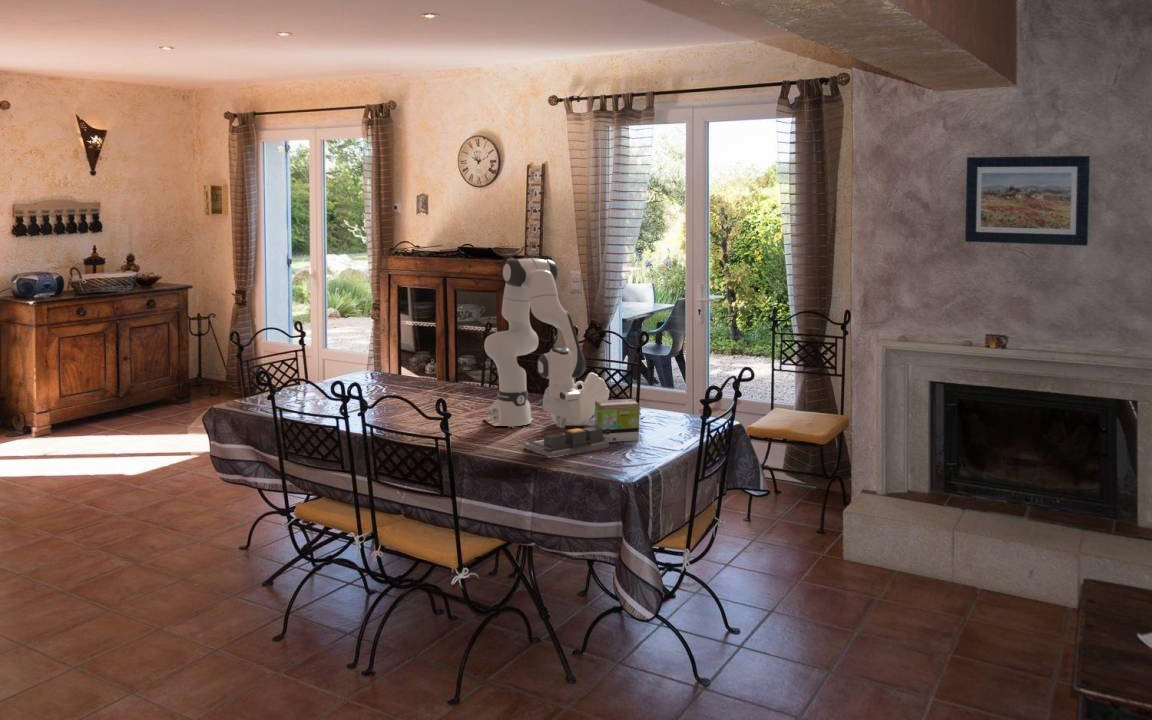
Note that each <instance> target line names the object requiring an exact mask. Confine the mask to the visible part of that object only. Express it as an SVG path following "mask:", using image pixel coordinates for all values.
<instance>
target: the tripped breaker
mask: <svg viewBox="0 0 1152 720" xmlns="http://www.w3.org/2000/svg"><path fill="white" fill-rule="evenodd" d="M582 429H583V428H578V427H577V428H572V429H571V428H570V429H567V430H565V431H564V434H565V436H566V443H569V444H571V446H570V447H569V446H568V448H571V449H578V448H583V447H588V446H592V445H590V444H587V443H586V431H584V430H582Z"/></svg>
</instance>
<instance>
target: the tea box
mask: <svg viewBox="0 0 1152 720" xmlns="http://www.w3.org/2000/svg"><path fill="white" fill-rule="evenodd" d="M594 426H595V427H599V428H602V429H603V437H605V440H604V441H607V442H609V443H616V442H617V443H618V442H638V441H639V439H640V403H638V402H637V401H636V400H634V399H632V398H627V399H626V398H625V399H611V400H609V399H608V400H604V401H595V413H594Z"/></svg>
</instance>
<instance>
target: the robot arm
mask: <svg viewBox="0 0 1152 720" xmlns="http://www.w3.org/2000/svg"><path fill="white" fill-rule="evenodd" d="M502 277H503V280H504V282H505V284H504V285H505V286H504V289H503V296H502V303H501V315H502V317H503V319H505V321H507V322H508V329H507V330H502V331H496V332H494V333H492V334H490V335H488V336H486V338H485V340H484V345H483V347H484V351H485V353H486V355H487V356H488V357H489V358H490V359H491V360H493V362H494V364H495V366H496V369H497V372H498V389H499V390H497V391H496V394H497V396H496V397H497V398H496V400H495V401H494V402H493V403H492V404H491V405H489V407H488V410H487V411H488V412H487V413H488V417H489V418H490V419H492V420H493V421H495V422H497V423H499V425H510V426H511V425H512V426H521V425H527V424H530V423H531V424H532V422H531V421H532V420H534V418H533V417H532V409H531V404H530V401H529V400H528V399H529V398H528V396H529V392H528V389H527V372H526V370H525V368H523V367H522V366H520V365H519V363H518V359H517V357H520V356H526V355H529V354H531V353H533V352H535V351H536V350H537V349H538V347H539V341H540V339H539V336H538V334H537V332H536V331H535V330H534V329H533V327H532V325H531V321H530V312H531V314H532V315H533V317H535V318H536V319H537V320H539V321H541V322H543V323H545V324H547V325H551V326H554V327H556V328H558V329H559V330H560V331H561V333H562V335H563V339H564V344H565V345H566V346H553V347H552V348H551V349H550V350H549V352H546V353H542V354H541V355H540V356H539V358H537V361H536V362H537V365H536V366H537V374H539V375H540V376H541V377H542V378H544V379H550V381H549V382H548V387H546V388H545V390H544V394H543V396H542V397H543V399H542V409H543V411H544V412H547V413H549V414H550V413H551V414H554V415H555V419H556V422H557V423H556V427H558V428H561V429H565V427H566V425H565V422H566V420H567V419H569V420H578V419H579V417H580V401H579V399H580V398H581V394H580V393H579V392H578V391H577V390H576V389H575V388H574V387H573V381H572V378H573V379H576V378H578V379H579V377H581V376H582V375H583V374H584V372H585V371H586V370H587V369H586V368H587V362H586V357H585V356H584V354H583V351H582V349H581V346H580V343H579V340H578V337H577V333H576V330H575V329H576V328H575V326H574V323H573V320H572V317H571V315H570V313H569V311H567V310H566V309H564V307H563V306H562V304H561V302H560V299H559V294H558V287H557V284H556V280H557V278H558V267H557V265H556V262H555V261H553V260H552V259H549V258H543V259H542V258H537V257H536V258H535V257H528V258H512V259H509V260H507V261H505V263H504V265H503V267H502ZM531 424H530V425H531Z"/></svg>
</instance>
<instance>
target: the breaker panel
mask: <svg viewBox="0 0 1152 720" xmlns="http://www.w3.org/2000/svg"><path fill="white" fill-rule="evenodd" d="M581 429H582V430H584V431H586V443H587V444H590V445H592V446H588V447H583V448H578V449H571V448H568V446H569V447H570V446H571V444H569V443H566V436H565V433H558V432H556V433H552V434H546V435H544V436H543V437H542V439H541V440H535V441H533V440H530V439H527V440H526V443H523V448H524V447H526V448H529V449H532V450H534V451H537V452H540V453H543V454H545V455H548V456H550V457H552V456H559V455H566V454H573V453H578V454H580V453H579V452H583V453H586V452H585V451H588V452H592V451H591V450H593V451H597V450H596V449H598V450H602V449H607V448H609V447H610V442H607V441H604V440H605V437H603V429H602V428H599V427H595V425H594V426H589V427H584V428H583V427H582V428H581ZM573 455H574V454H573Z"/></svg>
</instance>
